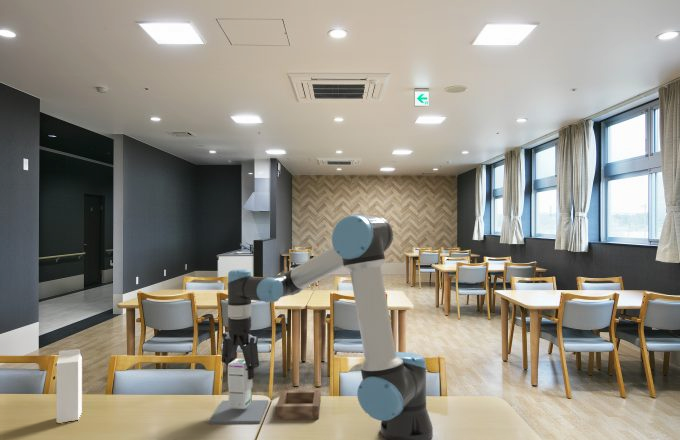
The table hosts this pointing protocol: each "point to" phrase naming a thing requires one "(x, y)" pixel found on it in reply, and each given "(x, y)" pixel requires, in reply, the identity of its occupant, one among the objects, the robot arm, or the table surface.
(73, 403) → the milk
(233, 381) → the syrup box
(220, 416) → the charcoal mat
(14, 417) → the table surface
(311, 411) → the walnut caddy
